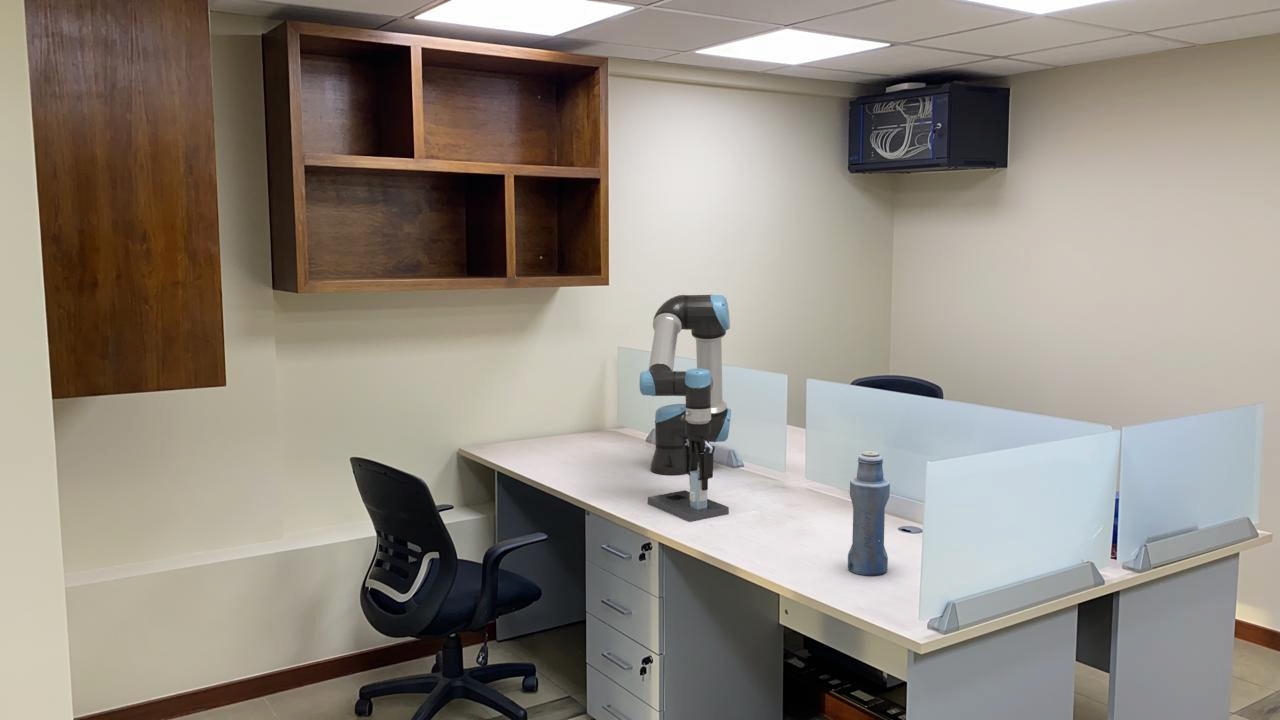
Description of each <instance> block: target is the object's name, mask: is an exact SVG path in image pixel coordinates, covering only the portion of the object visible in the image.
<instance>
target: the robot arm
mask: <svg viewBox="0 0 1280 720" xmlns="http://www.w3.org/2000/svg"><path fill="white" fill-rule="evenodd" d="M652 329H653V330H654V335H653V341H652V346H651V353H650V358H649V365H648V370H644V371H641V372H640V375H639V392H640V394H641V395H642V396H652V397H685V403H674V404H668V405H663V406H661V407H659V408H657V409H656V410H655V417H654V423H655V424H654V425H655V431H654V432H655V436H654V437H655V450H654V453H653V456H652V460H651V462H650V463H651V464H650V471H651V472H652V473H654V474H657V475H658V474H659V475H664V476H677V475H686V474H687V475H688V476H689V477H690V471H695V470H699V472H700V478H698V499H699V501H705V500H707V499H708V490H709V480H710V479H712V478H713V477H714V476H713V475H714V453H715V450H716V447H715V446H714V445H711V444H710V443H718V442H719V443H720V442H726V441H727V440H728V438H729V433H730V424H731V417H732V416H731V415H732V409H731V408H728V405H727V403H726V402H725V401H724V400H723V363H722V362H723V361H722V360H723V359H722V355H723V354H722V350H723V349H722V338H724V337H725V336H726V333H727V331H729V330H730V329H731V320H730V311H729V303H728V301H727V298H726V296H724V295H720V294H679V295H675V296H673V297H670V298H669V299H668V300H666V301H665V302H663V303H662V304H661V306H659V308H658V309H657V310H656V312H655V314H654V317H653V322H652ZM682 330H685V331H686V330H688V331H689V330H691V336H692V337H693V338H694V339H695V345H696V347H695V348H696V349H695V351H696V352H695V353H696V368H690V369H687V370H686V371H683V370H681V371H680V370H679V371H678V370H677V371H675V370H674V366H675V358H676V348H677V342H678V335H679V333H680V332H681V331H682Z"/></svg>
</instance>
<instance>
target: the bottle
mask: <svg viewBox="0 0 1280 720" xmlns="http://www.w3.org/2000/svg"><path fill="white" fill-rule="evenodd" d="M883 459H884V458H883V456H882V455H880V453H879V452H878V451H872V450H869V451H868V450H867V451H866V450H865V451H862V452H861V454H858V458H857V462H858V464H857V470H856V471H857V472H856V476H855V477H852V478H851V479H850V481H849V497H850V500H851V503H852V540H851V541H852V544H851V546H850V549H849V550H848V553H847V567H848V569H849V571H850V572H852V573H854V574H857V575H862V576H880V575H883V574H886V572H887V571H888V563H889V562H888V561H889V557H888V553H887V550H886V547H885V521H886V520H885V519H886V517H885V512H886V511H885V510H886V506H887V503H888V501H889V499H890V495H891V494H890V493H891V491H890V490H891V483H890V481H889V480H888V479H886V478H884V469H883V464H884V460H883Z"/></svg>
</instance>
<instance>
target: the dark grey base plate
mask: <svg viewBox="0 0 1280 720" xmlns="http://www.w3.org/2000/svg"><path fill="white" fill-rule="evenodd" d="M647 505H649V506H652V507H653V508H656V509H658V510H661V511H663V512H665V513H668V514H670V515H673V516H675V517H677V518H679V519H681V520H684V521H687V522H689V523H692V522H698V521H702V520H708V519H712V518H718V517H722V516H727V515H730V514H729V513H730V506H727V505H725V504H722V503H720V502H717V501H714V500H711V499H708V498H707V508H703V509H698V510H696V509H694V508H691V507H690V491H688V490H680V491H675V492H669V493H663V494H658V495H652V496H647Z"/></svg>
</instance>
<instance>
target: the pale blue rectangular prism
mask: <svg viewBox="0 0 1280 720" xmlns="http://www.w3.org/2000/svg"><path fill="white" fill-rule="evenodd" d="M698 478H700V472H699V469H697V470H695V471H690V476H689V492H690V507H691V508H694V509H696V510H698V509H703V508H707V500H705V501H699V499H698Z"/></svg>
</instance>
